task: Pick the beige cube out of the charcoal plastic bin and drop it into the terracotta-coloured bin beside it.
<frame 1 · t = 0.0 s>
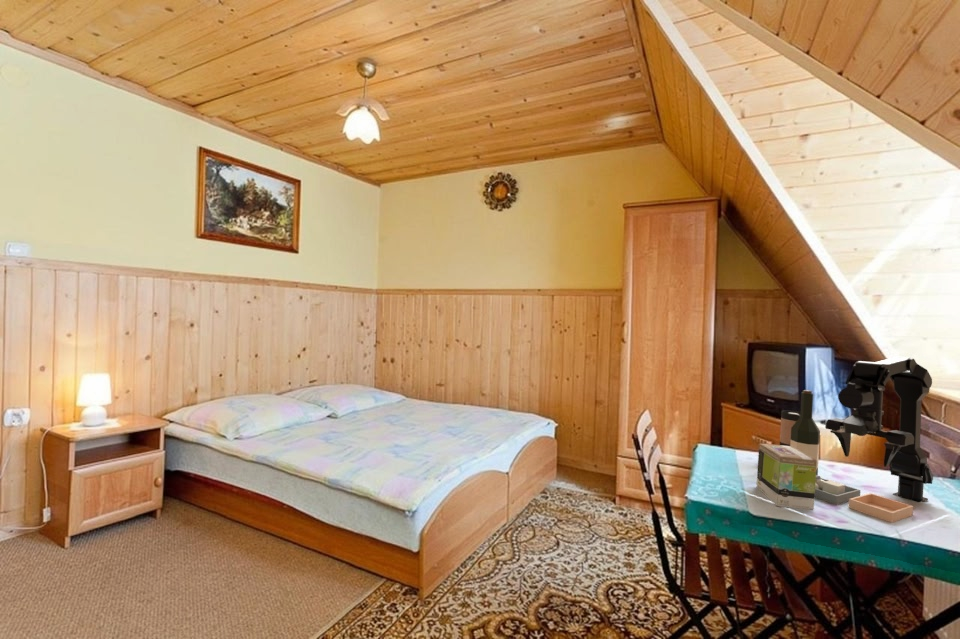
hand: (865, 461, 130), 15 cm above the table, fingers open, 9 cm apart
pebble b: (812, 491, 144), resting on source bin
travel mug: (790, 466, 171), on the table
wine bottle: (802, 478, 159), on the table
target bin: (880, 513, 131), on the table
beige cube: (833, 496, 141), resting on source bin
tea box: (783, 499, 139), on the table
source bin: (827, 496, 142), on the table
cream glossy ball: (820, 489, 146), resting on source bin
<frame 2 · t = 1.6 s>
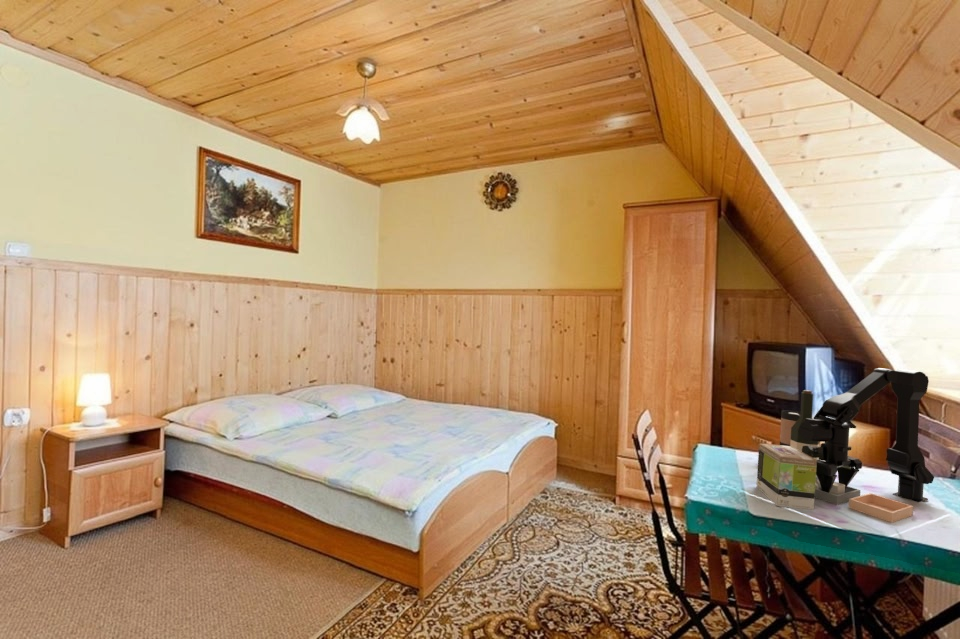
hand: (833, 492, 141), 2 cm above the table, fingers open, 9 cm apart
nothing on the table moved.
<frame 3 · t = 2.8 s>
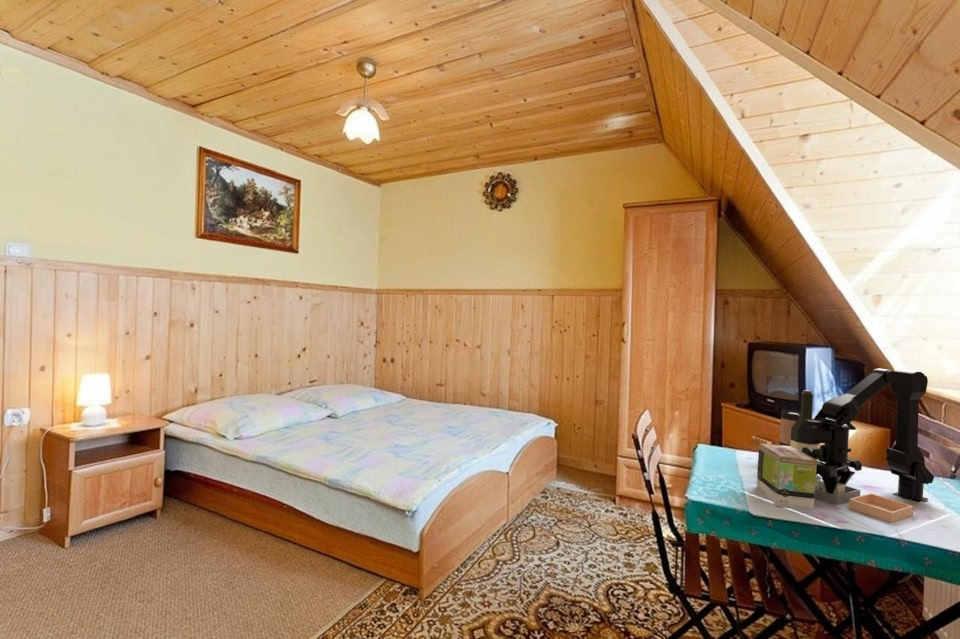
hand: (833, 494, 141), 1 cm above the table, fingers closed on beige cube, 4 cm apart
beige cube: (833, 496, 141), resting on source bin, touching gripper
everything else where it was.
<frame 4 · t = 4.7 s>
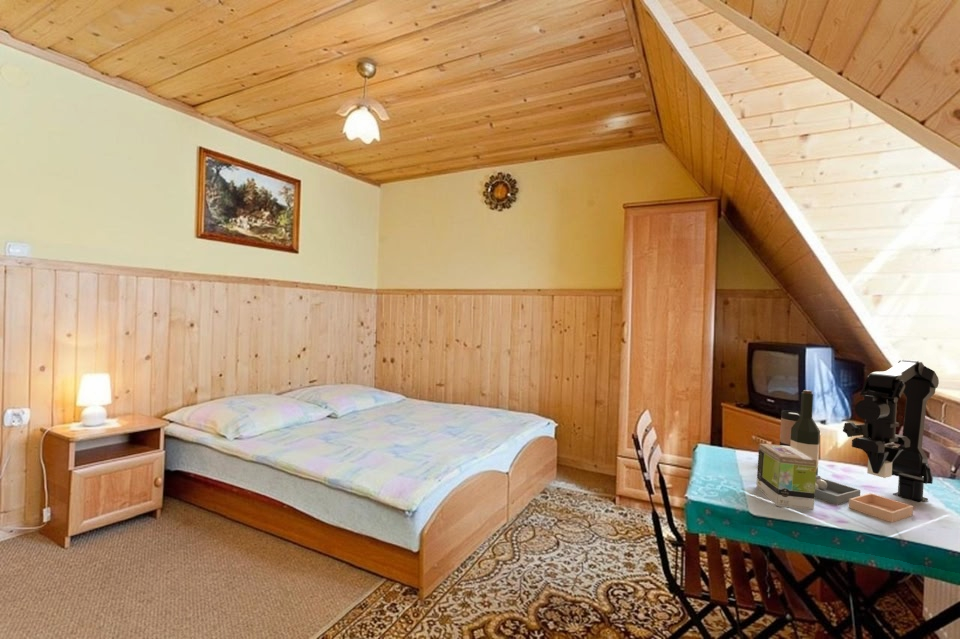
hand: (879, 472, 131), 11 cm above the table, fingers closed on beige cube, 4 cm apart
beige cube: (879, 474, 131), point 11 cm above the table, touching gripper
everything else where it was.
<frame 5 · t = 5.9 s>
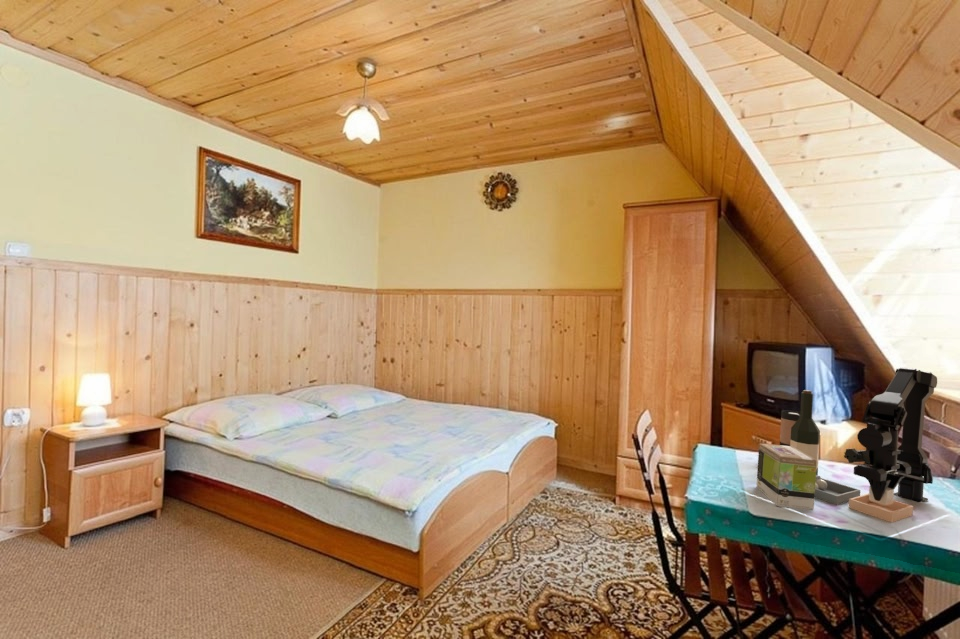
hand: (881, 499, 131), 4 cm above the table, fingers closed on beige cube, 4 cm apart
beige cube: (880, 501, 131), point 3 cm above the table, touching gripper
everything else where it was.
when the fingers open (3 cm above the table, at t = 6.7 s): beige cube drops 2 cm, resting on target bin.
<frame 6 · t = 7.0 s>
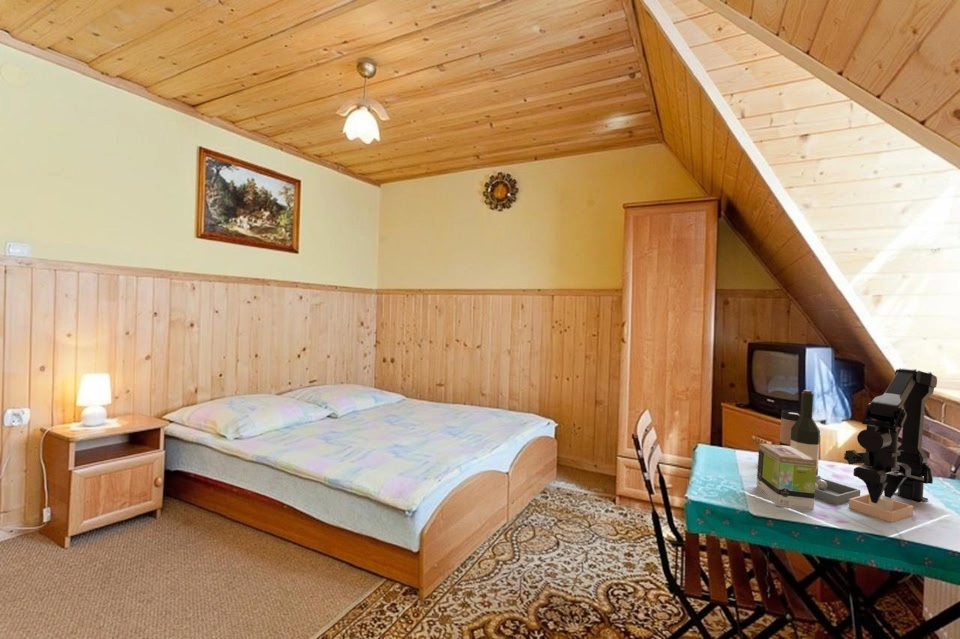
hand: (880, 500, 131), 3 cm above the table, fingers open, 7 cm apart
beige cube: (880, 511, 131), resting on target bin
everything else where it was.
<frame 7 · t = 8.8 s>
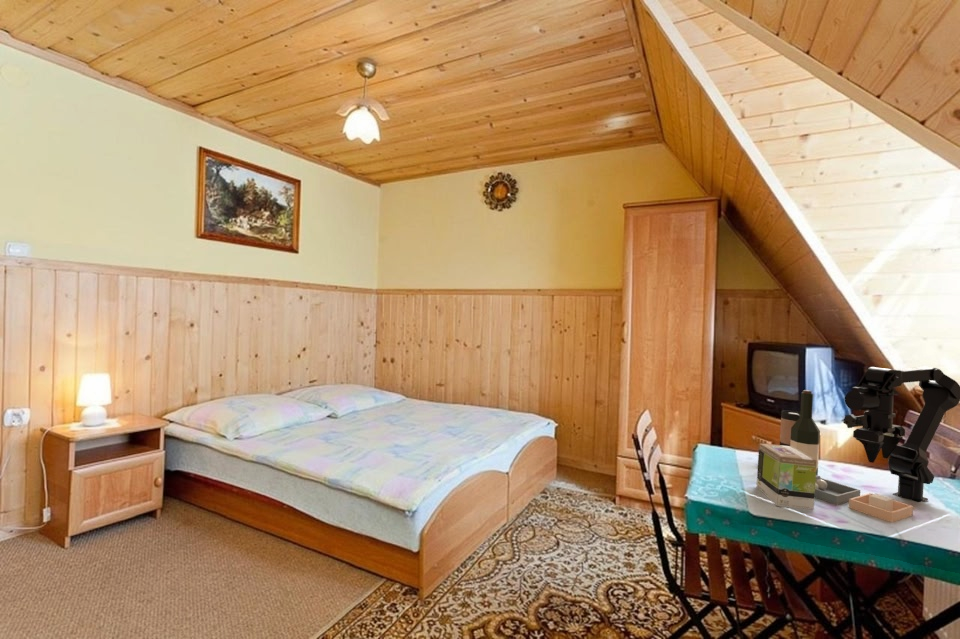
hand: (878, 460, 140), 12 cm above the table, fingers open, 9 cm apart
nothing on the table moved.
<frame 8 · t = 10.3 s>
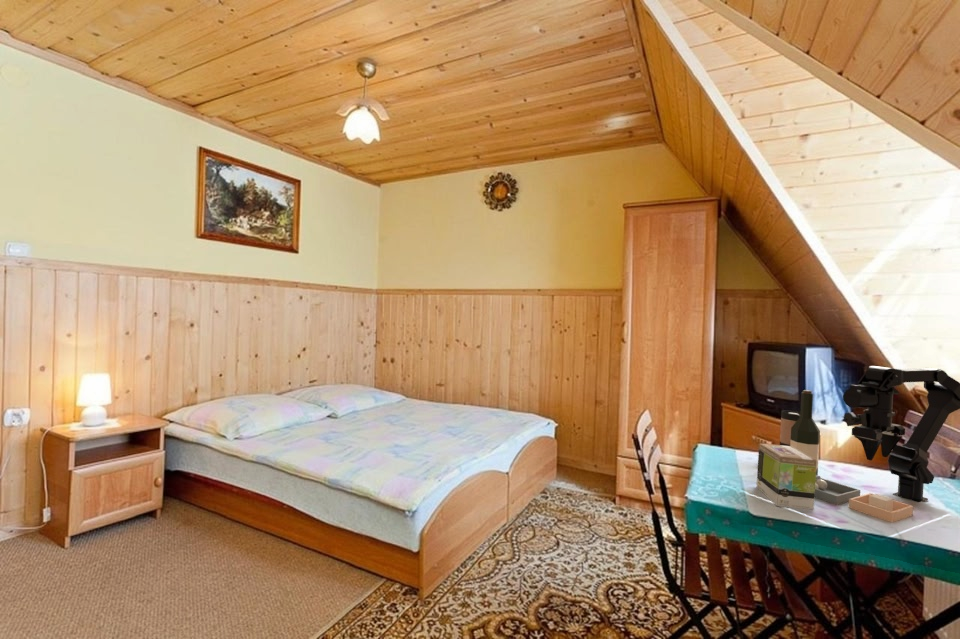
hand: (877, 458, 141), 13 cm above the table, fingers open, 9 cm apart
nothing on the table moved.
at the end: beige cube inside the target area on the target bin (0.1 cm from its centre), point 0.5 cm above the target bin's base; the gripper is holding nothing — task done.
